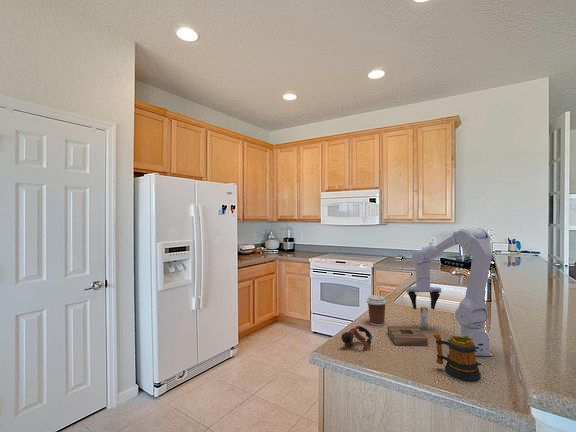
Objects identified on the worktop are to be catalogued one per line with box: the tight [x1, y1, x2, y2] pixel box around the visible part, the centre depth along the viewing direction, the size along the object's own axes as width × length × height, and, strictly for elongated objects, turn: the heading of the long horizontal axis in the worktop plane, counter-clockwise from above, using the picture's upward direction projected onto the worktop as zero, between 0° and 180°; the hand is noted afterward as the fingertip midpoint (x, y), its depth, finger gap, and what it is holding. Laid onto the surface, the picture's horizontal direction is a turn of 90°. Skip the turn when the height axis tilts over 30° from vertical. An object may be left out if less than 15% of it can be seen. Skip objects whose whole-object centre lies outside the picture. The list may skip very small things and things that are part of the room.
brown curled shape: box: [341, 325, 373, 351], centre depth 111 cm, size 12×10×8 cm
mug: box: [432, 332, 482, 383], centre depth 92 cm, size 13×10×12 cm
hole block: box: [387, 325, 429, 347], centre depth 117 cm, size 12×12×3 cm
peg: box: [419, 306, 429, 331], centre depth 128 cm, size 3×3×9 cm
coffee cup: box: [366, 294, 388, 326], centre depth 136 cm, size 9×9×12 cm
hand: (423, 308), depth 128 cm, fingers open, 7 cm apart
